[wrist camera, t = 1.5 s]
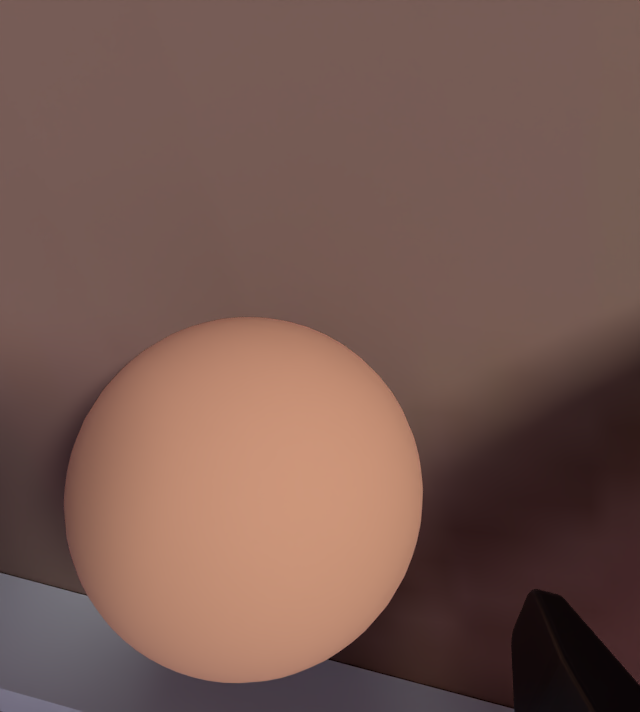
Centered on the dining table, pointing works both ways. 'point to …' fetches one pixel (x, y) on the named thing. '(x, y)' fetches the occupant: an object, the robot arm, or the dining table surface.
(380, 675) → the wall
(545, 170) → the dining table surface
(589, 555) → the dining table surface
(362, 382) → the ball
